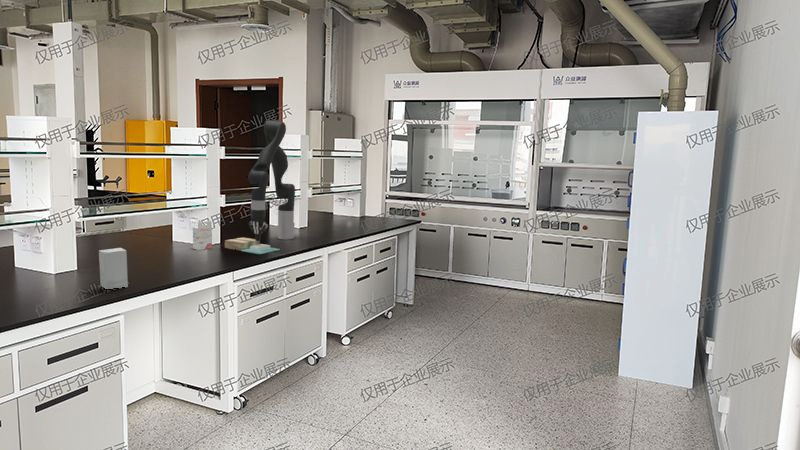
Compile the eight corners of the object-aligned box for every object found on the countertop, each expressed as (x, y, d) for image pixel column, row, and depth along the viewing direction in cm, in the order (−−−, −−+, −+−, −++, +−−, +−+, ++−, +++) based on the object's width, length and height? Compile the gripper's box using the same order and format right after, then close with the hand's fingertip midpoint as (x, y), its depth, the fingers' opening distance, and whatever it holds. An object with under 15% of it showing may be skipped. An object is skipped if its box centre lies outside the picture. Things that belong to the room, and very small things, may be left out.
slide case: (270, 245, 300) (270, 248, 300) (261, 243, 302) (261, 247, 303) (258, 247, 292) (258, 251, 292) (250, 246, 294) (250, 249, 295)
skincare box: (122, 284, 217) (121, 247, 215) (128, 287, 213) (127, 249, 211) (99, 287, 211) (98, 249, 209) (105, 291, 207) (104, 252, 205)
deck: (243, 244, 312) (243, 237, 311) (259, 247, 306) (259, 239, 306) (224, 247, 299) (224, 240, 299) (241, 250, 294) (241, 243, 293)
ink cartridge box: (206, 246, 299) (206, 219, 297) (212, 248, 296) (212, 221, 294) (192, 248, 293) (192, 221, 291) (197, 250, 290) (197, 222, 288)
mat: (261, 246, 307) (261, 245, 307) (280, 249, 301) (280, 248, 301) (241, 251, 293) (241, 250, 293) (260, 254, 287) (260, 253, 287)
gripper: (272, 209, 295) (272, 241, 298) (253, 206, 301) (253, 238, 304) (263, 210, 289) (262, 243, 291) (243, 207, 295) (243, 240, 297)
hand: (257, 240), depth 297 cm, fingers closed
